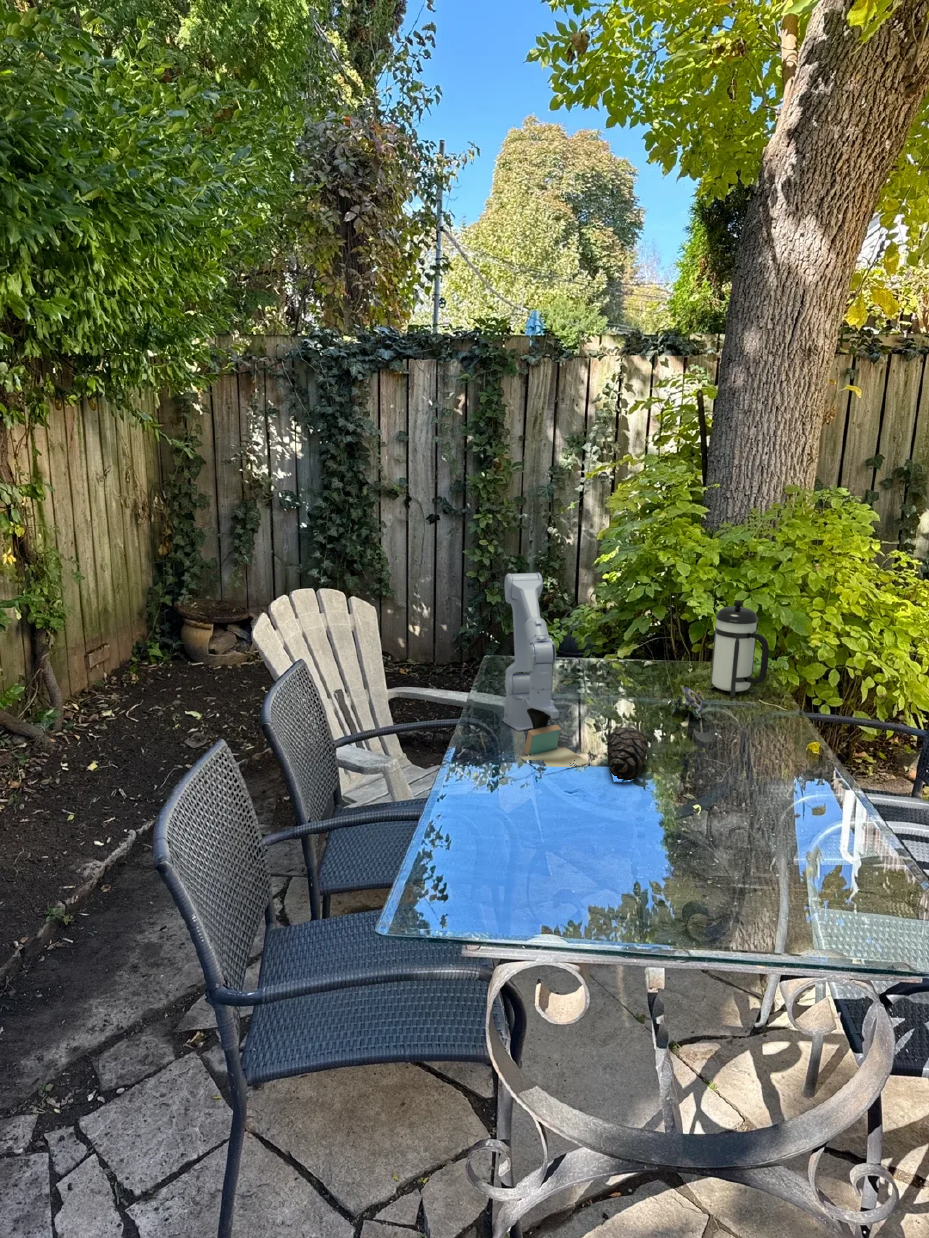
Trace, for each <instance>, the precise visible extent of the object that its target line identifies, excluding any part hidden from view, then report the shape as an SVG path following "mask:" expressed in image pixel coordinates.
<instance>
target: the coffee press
mask: <svg viewBox="0 0 929 1238" xmlns="http://www.w3.org/2000/svg"><path fill="white" fill-rule="evenodd" d="M733 605H734V606H725V607H723V608H721V609H719V610H718V612H717V613H716V614H715V619H716V623H715V624H716V625H715V629H714V640H713V650H712V662H711V672H710V673H711V674H710V675H711V676H710V681H709V682H708V683H707V684H706V689H707V690H708V688H709V686H710V684H712V686H710V687H711V689H710V690H712V689H713V688H715V687H716V688H717V689H720V690H721V691H722V690H723V691H727V692H729V697H730V698H732V699H733V698H735V697H736V692H743V691H749V692H750V693H751V694H753V693H755V687H754V686H753V685H757V684H761V683H763V682H764V681H765V680H766V677H767V672H768V665H769V654H770V647H769V643H768V640H767V638H766V637H764V636H763V635H761V634H760V633H757V630H758V629H757V623H758V622H759V617H758V616H757V613H756V612H755V610H752V609H750V608H747V607H743V603H742V601H740V600H735V602H734V604H733ZM756 641H758V642H759V643H760V645H761V660H760V669H759V670H760V671H759V675H758V677H757V678H755V677H753V672H754V671H753V670H754V661H755V651H756ZM707 687H708V688H707ZM750 687H752V689H753V690H750V689H749V688H750Z"/></svg>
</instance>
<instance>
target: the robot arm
mask: <svg viewBox="0 0 929 1238" xmlns="http://www.w3.org/2000/svg"><path fill="white" fill-rule="evenodd" d="M543 583H544V581H543V577H542V574H541V573H540V572H531V573H527V572H525V573H509V572H508V573H506V575H505V577H504V599H505V603H507V604H510V606H511V609H512V620H513V621H512V622H513V623H512V626H513V647H514V648H513V649H514V661H513V662H512V663H511V664H510V665H509V666H508V667H507V668H506V669H505V678H504V687H505V691H506V695H505V697H504V701H503V702H504V704H503V705H504V709H503V711H504V712H503V713H504V714H503V715H504V716H503V718H502V719H503V721H504V723H505V724H506V725H508V726H509V727H511V728H513V729H514V730H515V731H517V732H522V731H526V730H530V729H531V730H534V729H538V728H543V727H548V723H549V721H550V719H551V720H554V719H559V717H560V710H558V709H557V708H556V706H555V705H554V704H555V701H554V700H553V699H552V691H553V689H552V687H553V685H552V684H553V682H552V681H553V664H555V662H556V660H557V659H556V658H557V653H556V652H557V651H556V646H555V645H556V644H555V642H554V641H553V639H552V638H551V637H550V635H549V631H548V626H547V622H546V621H545V619H544V618H541V613H540V605H539V598H540V597H541V595H542V592H543V588H544V584H543ZM522 672H523V673H522ZM505 720H506V721H505ZM503 721H502V722H503Z"/></svg>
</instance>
